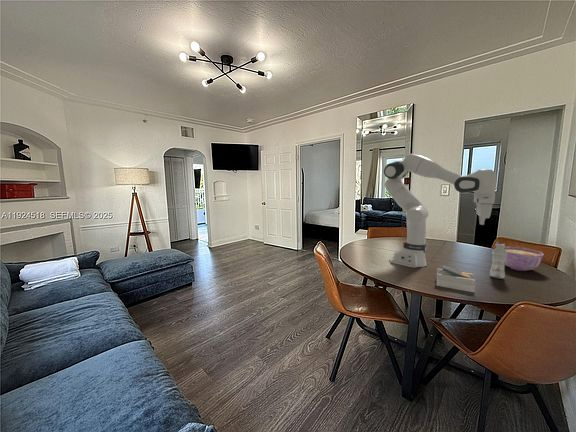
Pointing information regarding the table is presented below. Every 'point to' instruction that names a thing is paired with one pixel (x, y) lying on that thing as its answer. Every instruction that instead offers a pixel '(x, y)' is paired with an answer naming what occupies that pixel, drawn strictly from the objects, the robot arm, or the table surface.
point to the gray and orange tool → (455, 272)
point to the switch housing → (455, 281)
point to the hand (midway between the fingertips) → (481, 224)
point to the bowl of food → (522, 258)
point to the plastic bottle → (498, 261)
